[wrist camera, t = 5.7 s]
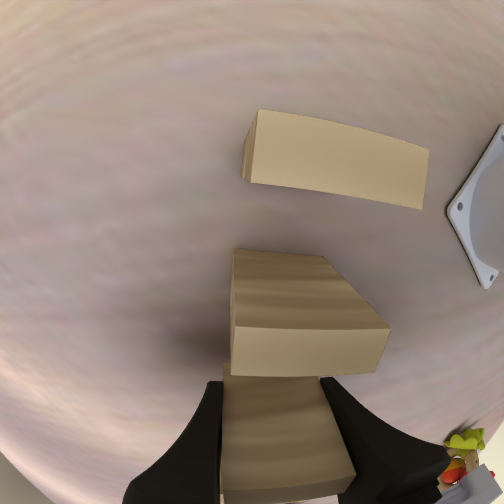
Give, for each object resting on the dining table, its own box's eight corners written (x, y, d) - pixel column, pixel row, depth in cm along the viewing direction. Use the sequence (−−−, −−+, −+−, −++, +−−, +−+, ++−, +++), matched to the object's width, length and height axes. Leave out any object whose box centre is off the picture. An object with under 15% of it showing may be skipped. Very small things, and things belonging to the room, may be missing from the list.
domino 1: (244, 141, 12) (258, 108, 5) (337, 155, 13) (428, 149, 6) (240, 176, 13) (250, 182, 6) (333, 188, 13) (421, 210, 6)
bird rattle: (448, 439, 26) (493, 414, 20) (458, 502, 17) (507, 485, 11) (419, 449, 25) (466, 425, 19) (427, 518, 16) (479, 506, 11)
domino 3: (223, 362, 13) (222, 489, 6) (311, 360, 13) (356, 475, 7) (223, 385, 14) (224, 505, 7) (307, 383, 14) (343, 492, 7)
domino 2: (233, 248, 13) (235, 326, 7) (322, 256, 14) (391, 328, 7) (230, 280, 14) (230, 374, 7) (316, 286, 14) (374, 372, 8)
